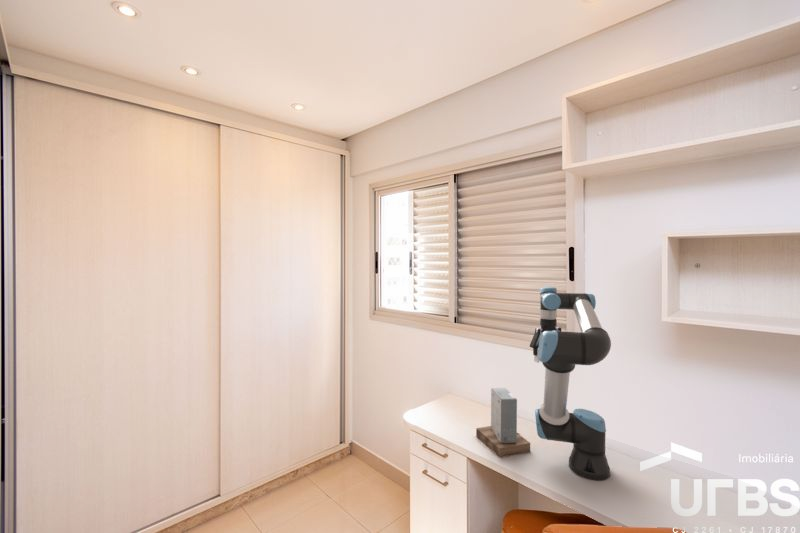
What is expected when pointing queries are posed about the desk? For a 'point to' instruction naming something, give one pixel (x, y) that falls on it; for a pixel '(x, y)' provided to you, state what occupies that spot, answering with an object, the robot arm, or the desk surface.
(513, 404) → the hard drive box
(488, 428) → the walnut riser
